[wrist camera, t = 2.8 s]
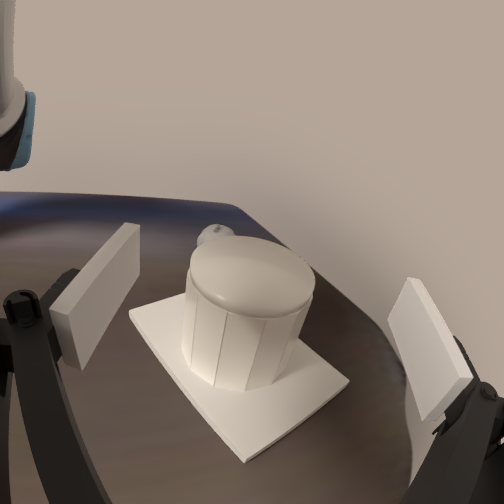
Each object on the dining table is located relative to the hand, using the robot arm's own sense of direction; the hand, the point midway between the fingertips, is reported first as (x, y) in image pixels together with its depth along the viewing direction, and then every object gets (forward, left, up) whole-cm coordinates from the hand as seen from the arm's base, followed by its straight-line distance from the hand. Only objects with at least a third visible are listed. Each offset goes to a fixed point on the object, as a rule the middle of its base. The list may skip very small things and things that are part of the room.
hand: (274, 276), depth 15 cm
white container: (-8, +7, -16) cm, 19 cm away
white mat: (-8, +7, -17) cm, 20 cm away
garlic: (-25, +17, -17) cm, 34 cm away
